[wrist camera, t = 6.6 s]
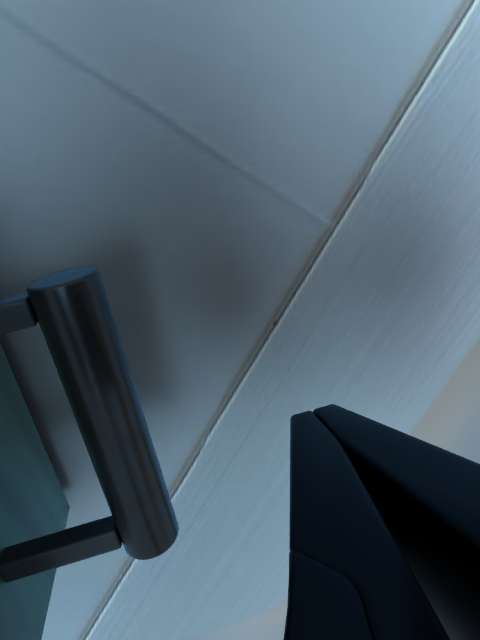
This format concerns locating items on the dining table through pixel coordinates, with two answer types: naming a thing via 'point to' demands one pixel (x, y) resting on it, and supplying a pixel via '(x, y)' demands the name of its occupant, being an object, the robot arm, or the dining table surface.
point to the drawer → (101, 442)
